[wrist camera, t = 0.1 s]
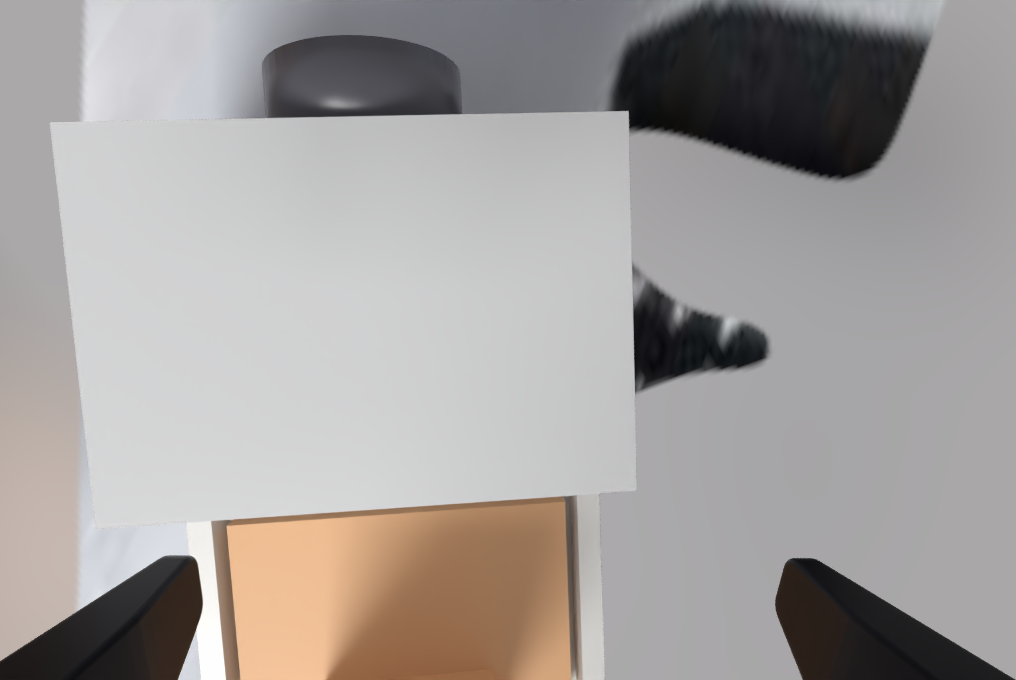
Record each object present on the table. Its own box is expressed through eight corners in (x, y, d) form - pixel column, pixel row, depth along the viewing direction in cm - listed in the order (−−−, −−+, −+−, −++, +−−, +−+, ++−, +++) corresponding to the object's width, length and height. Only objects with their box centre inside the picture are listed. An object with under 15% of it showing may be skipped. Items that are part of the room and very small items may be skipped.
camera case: (580, 639, 26) (644, 828, 17) (254, 668, 24) (135, 886, 16) (564, 127, 23) (626, 28, 15) (207, 135, 22) (39, 34, 14)
